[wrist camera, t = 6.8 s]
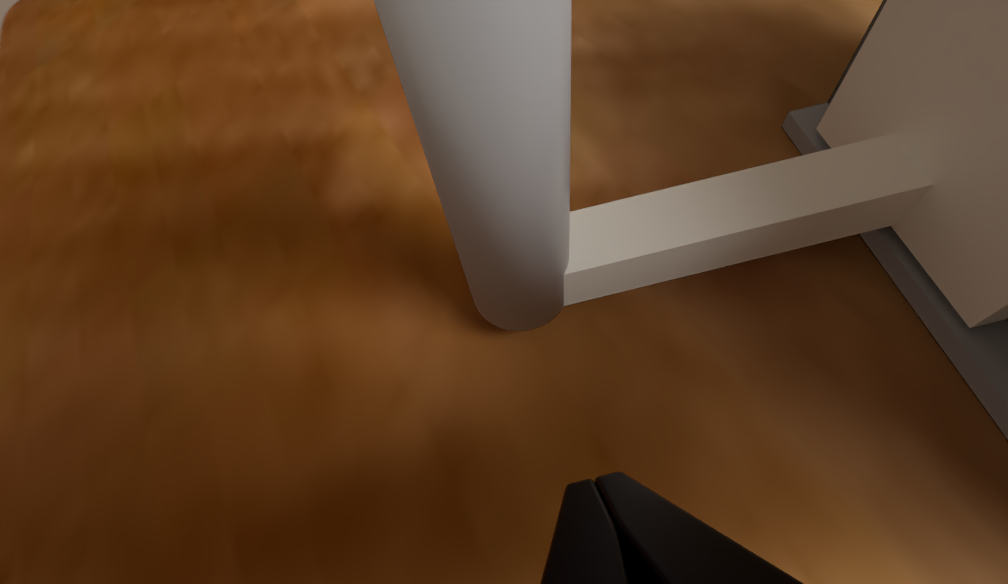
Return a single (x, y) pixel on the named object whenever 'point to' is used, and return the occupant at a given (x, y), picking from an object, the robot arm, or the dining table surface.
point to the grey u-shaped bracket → (718, 200)
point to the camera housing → (925, 286)
